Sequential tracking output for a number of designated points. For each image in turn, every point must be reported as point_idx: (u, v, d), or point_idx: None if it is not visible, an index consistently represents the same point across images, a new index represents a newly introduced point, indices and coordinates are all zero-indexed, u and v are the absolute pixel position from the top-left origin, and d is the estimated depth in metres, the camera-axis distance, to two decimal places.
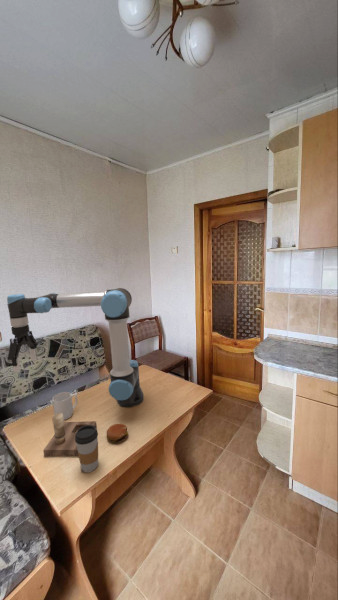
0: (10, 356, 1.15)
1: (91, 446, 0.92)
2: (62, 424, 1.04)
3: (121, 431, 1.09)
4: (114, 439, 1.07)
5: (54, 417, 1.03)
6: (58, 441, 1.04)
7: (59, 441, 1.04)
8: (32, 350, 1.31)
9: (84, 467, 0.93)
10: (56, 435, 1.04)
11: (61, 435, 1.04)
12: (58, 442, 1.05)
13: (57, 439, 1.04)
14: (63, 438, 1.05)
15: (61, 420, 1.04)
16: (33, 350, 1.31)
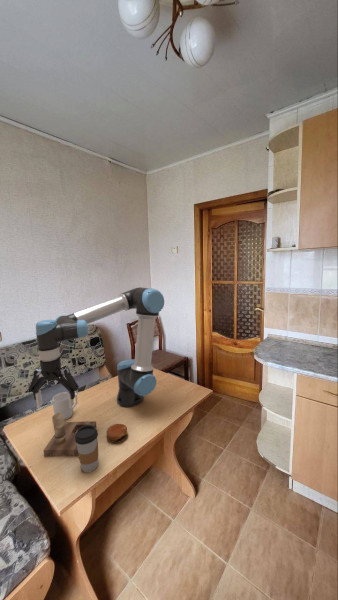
0: None
1: (91, 446, 0.92)
2: (62, 424, 1.04)
3: (121, 431, 1.09)
4: (114, 439, 1.07)
5: (54, 417, 1.03)
6: (58, 441, 1.04)
7: (59, 441, 1.04)
8: None
9: (84, 467, 0.93)
10: (56, 435, 1.04)
11: (61, 435, 1.04)
12: (58, 442, 1.05)
13: (57, 439, 1.04)
14: (63, 438, 1.05)
15: (61, 420, 1.04)
16: None
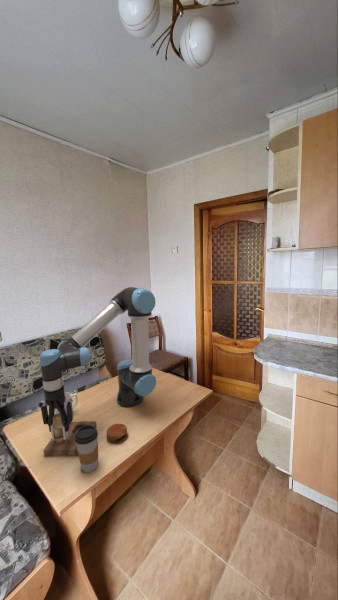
0: None
1: (91, 446, 0.92)
2: (62, 424, 1.04)
3: (121, 431, 1.09)
4: (114, 439, 1.07)
5: (54, 417, 1.03)
6: (58, 441, 1.04)
7: (59, 441, 1.04)
8: None
9: (84, 467, 0.93)
10: (56, 435, 1.04)
11: (61, 435, 1.04)
12: (58, 442, 1.05)
13: (57, 439, 1.04)
14: (63, 438, 1.05)
15: (61, 420, 1.04)
16: None
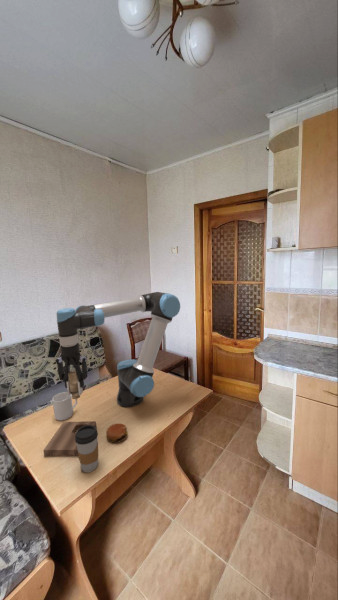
0: None
1: (91, 446, 0.92)
2: (77, 380, 1.10)
3: (121, 431, 1.09)
4: (114, 439, 1.07)
5: (70, 373, 1.08)
6: (73, 396, 1.10)
7: (74, 396, 1.10)
8: None
9: (84, 467, 0.93)
10: (72, 390, 1.09)
11: (76, 390, 1.09)
12: (73, 398, 1.10)
13: (73, 394, 1.10)
14: (78, 394, 1.11)
15: (76, 376, 1.09)
16: None
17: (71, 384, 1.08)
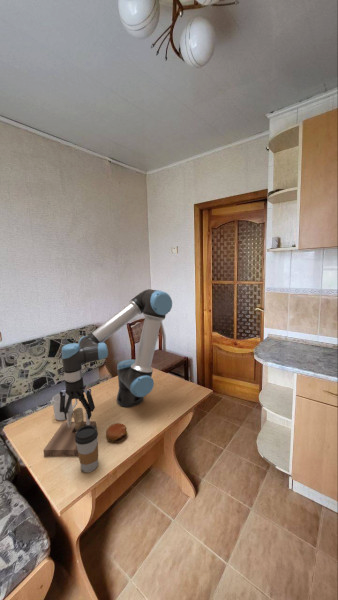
0: None
1: (91, 446, 0.92)
2: (82, 418, 1.13)
3: (120, 431, 1.09)
4: (113, 439, 1.07)
5: (75, 412, 1.11)
6: None
7: None
8: None
9: (84, 467, 0.93)
10: (76, 428, 1.12)
11: None
12: None
13: None
14: None
15: (81, 415, 1.12)
16: None
17: (76, 422, 1.11)
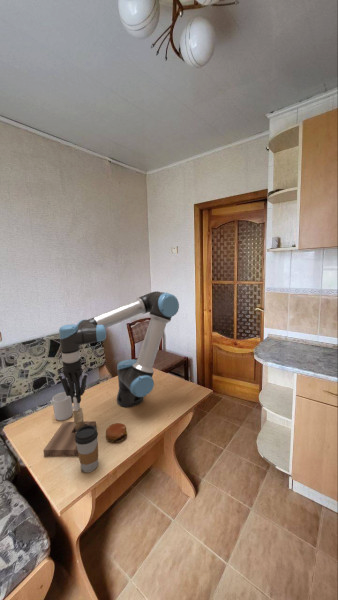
0: None
1: (91, 446, 0.92)
2: (82, 418, 1.13)
3: (120, 431, 1.09)
4: (113, 438, 1.07)
5: (75, 412, 1.11)
6: None
7: None
8: None
9: (84, 467, 0.93)
10: (76, 428, 1.12)
11: None
12: None
13: None
14: None
15: (81, 415, 1.12)
16: None
17: (76, 423, 1.11)
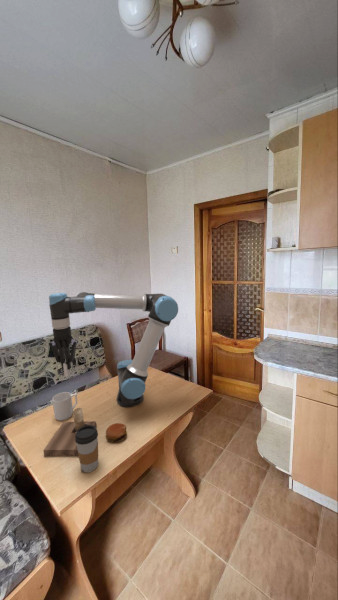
0: None
1: (91, 446, 0.92)
2: (82, 418, 1.13)
3: (120, 430, 1.09)
4: (113, 438, 1.07)
5: (75, 412, 1.11)
6: None
7: None
8: None
9: (84, 467, 0.93)
10: (76, 428, 1.12)
11: None
12: None
13: None
14: None
15: (81, 415, 1.12)
16: None
17: (76, 423, 1.11)
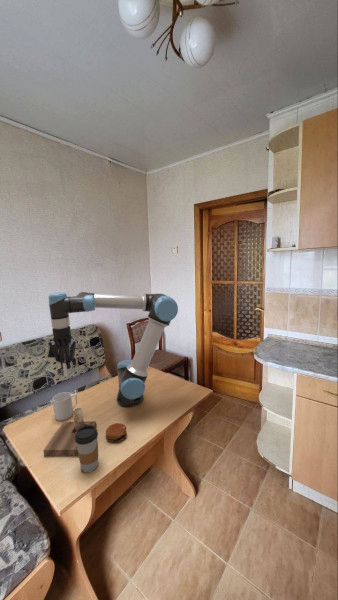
0: None
1: (91, 446, 0.92)
2: (82, 418, 1.13)
3: (120, 430, 1.09)
4: (113, 438, 1.07)
5: (75, 412, 1.11)
6: None
7: None
8: None
9: (84, 467, 0.93)
10: (76, 428, 1.12)
11: None
12: None
13: None
14: None
15: (81, 415, 1.12)
16: None
17: (76, 423, 1.11)
